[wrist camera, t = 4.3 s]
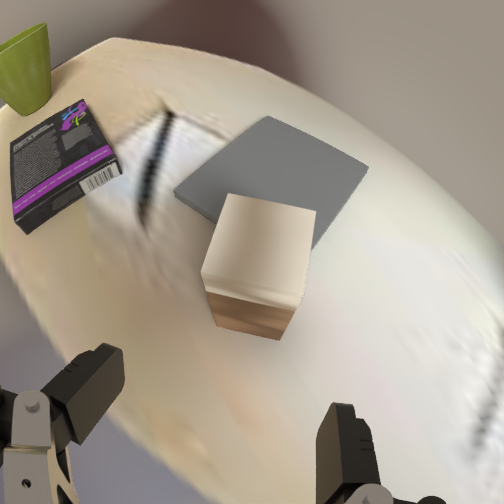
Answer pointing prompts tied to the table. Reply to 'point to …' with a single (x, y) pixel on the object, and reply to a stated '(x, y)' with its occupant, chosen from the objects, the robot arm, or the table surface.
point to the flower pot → (26, 70)
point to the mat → (276, 174)
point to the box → (58, 165)
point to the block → (258, 265)
